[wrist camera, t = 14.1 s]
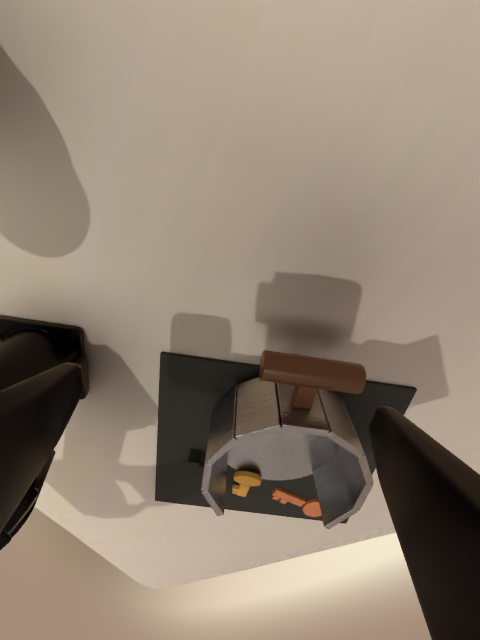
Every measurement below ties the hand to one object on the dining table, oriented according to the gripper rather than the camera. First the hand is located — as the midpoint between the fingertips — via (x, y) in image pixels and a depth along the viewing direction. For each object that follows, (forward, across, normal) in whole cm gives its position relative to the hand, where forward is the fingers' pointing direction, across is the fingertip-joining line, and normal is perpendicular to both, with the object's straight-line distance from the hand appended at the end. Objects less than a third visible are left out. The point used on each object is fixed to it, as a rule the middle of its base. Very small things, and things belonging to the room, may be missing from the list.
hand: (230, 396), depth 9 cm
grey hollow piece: (+11, -5, +10) cm, 16 cm away
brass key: (+11, -3, +19) cm, 22 cm away
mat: (+12, -5, +16) cm, 21 cm away
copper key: (+12, -9, +22) cm, 26 cm away
